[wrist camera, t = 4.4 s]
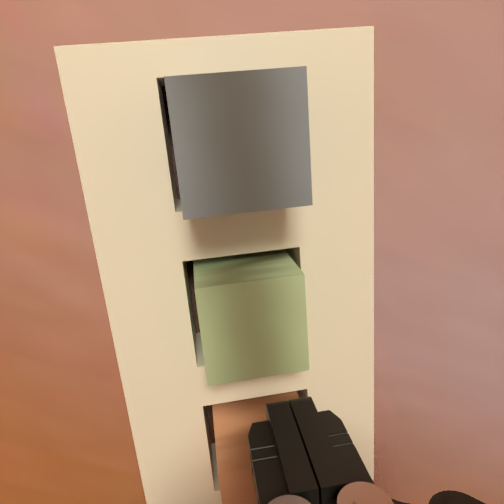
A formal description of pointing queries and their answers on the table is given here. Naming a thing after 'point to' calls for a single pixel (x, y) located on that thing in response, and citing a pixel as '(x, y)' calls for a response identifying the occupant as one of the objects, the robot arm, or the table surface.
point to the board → (224, 238)
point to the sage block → (251, 316)
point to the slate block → (241, 140)
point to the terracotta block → (239, 444)
